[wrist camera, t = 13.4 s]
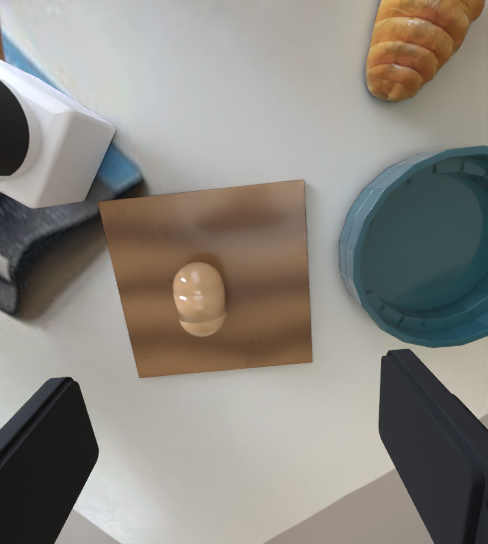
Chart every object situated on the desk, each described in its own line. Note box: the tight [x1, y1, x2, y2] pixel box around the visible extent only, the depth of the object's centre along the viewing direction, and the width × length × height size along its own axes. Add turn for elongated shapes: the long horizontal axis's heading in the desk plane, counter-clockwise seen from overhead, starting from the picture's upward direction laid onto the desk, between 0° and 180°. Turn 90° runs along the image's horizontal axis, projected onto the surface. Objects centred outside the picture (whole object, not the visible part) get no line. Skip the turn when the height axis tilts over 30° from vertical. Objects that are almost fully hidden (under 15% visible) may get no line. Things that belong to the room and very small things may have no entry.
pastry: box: [366, 0, 485, 102], centre depth 22 cm, size 9×7×4 cm
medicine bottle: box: [0, 60, 116, 209], centre depth 20 cm, size 7×7×12 cm
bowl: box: [339, 145, 488, 348], centre depth 27 cm, size 16×16×4 cm
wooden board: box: [98, 180, 312, 378], centre depth 30 cm, size 18×18×1 cm
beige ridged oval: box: [173, 262, 227, 337], centre depth 27 cm, size 7×4×4 cm, turn 6°
